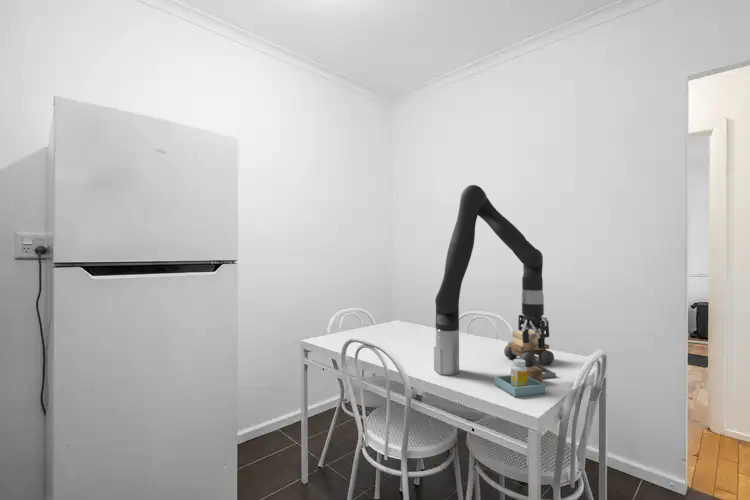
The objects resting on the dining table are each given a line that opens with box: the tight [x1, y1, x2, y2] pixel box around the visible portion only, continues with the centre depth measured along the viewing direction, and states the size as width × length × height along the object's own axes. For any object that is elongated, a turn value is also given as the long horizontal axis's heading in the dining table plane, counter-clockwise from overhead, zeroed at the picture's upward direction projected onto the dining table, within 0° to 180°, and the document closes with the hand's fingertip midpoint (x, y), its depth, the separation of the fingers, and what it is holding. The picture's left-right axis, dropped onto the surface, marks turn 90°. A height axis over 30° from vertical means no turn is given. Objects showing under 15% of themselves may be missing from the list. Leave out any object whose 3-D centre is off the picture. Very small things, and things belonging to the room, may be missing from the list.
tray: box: [494, 374, 547, 398], centre depth 132 cm, size 12×12×3 cm
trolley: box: [503, 316, 555, 367], centre depth 164 cm, size 15×14×19 cm
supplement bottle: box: [510, 358, 527, 387], centre depth 132 cm, size 5×5×10 cm
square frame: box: [537, 366, 557, 379], centre depth 147 cm, size 8×8×2 cm
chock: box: [526, 365, 544, 384], centre depth 139 cm, size 5×4×5 cm
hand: (533, 345), depth 139 cm, fingers open, 8 cm apart
